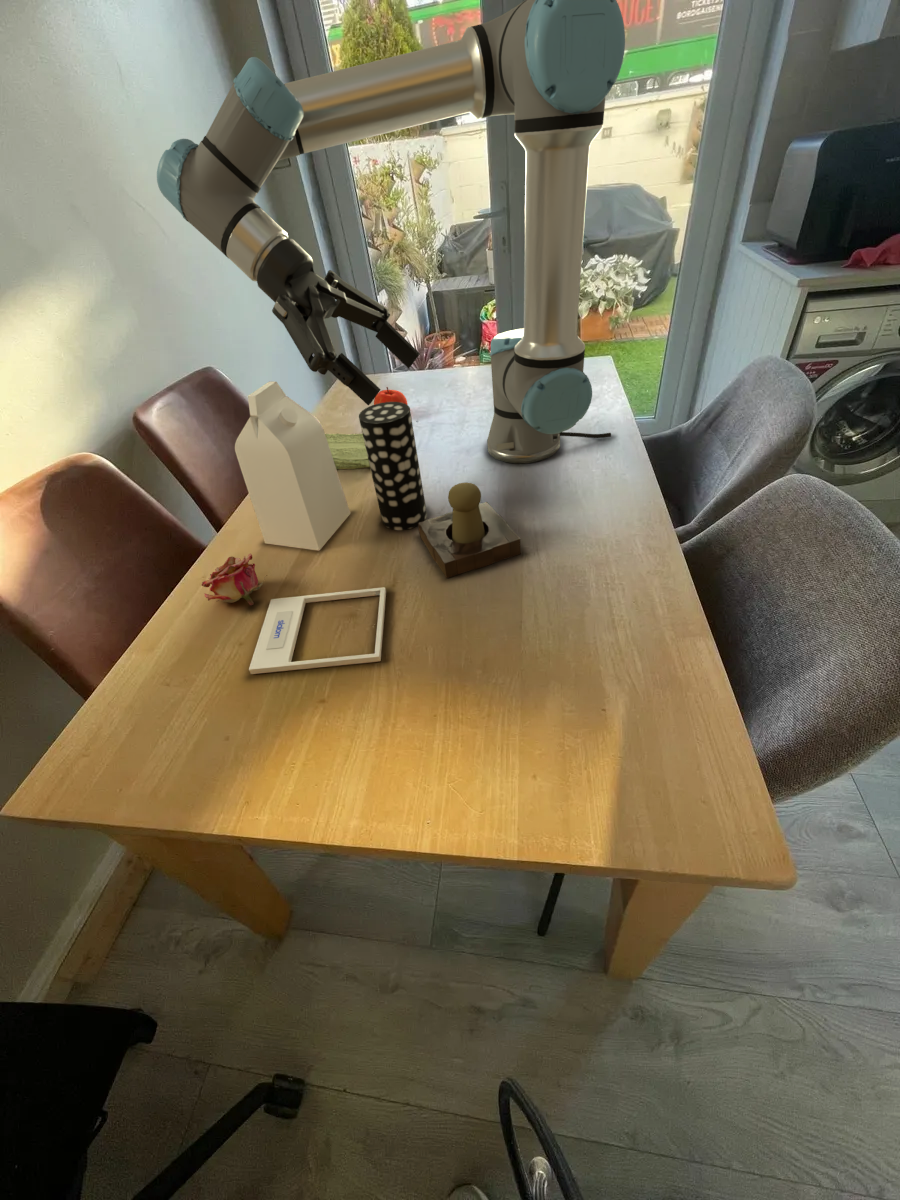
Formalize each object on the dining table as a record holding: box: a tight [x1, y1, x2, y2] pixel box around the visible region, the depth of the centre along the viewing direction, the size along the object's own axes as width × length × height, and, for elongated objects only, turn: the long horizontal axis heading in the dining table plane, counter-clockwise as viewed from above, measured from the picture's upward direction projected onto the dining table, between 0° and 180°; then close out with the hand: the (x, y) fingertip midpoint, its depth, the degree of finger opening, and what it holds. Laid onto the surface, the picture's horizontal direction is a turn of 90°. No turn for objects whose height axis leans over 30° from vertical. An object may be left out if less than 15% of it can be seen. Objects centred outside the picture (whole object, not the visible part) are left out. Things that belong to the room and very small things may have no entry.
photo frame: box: [248, 586, 387, 675], centre depth 80 cm, size 15×1×18 cm
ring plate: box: [417, 501, 522, 579], centre depth 92 cm, size 13×13×3 cm
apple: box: [373, 386, 409, 406], centre depth 133 cm, size 8×8×8 cm
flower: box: [201, 553, 268, 607], centre depth 86 cm, size 10×9×8 cm
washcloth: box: [325, 432, 370, 470], centre depth 122 cm, size 13×18×3 cm
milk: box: [234, 380, 351, 552], centre depth 94 cm, size 12×12×26 cm
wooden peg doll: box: [447, 482, 486, 543], centre depth 89 cm, size 6×6×11 cm
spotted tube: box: [358, 402, 428, 531], centre depth 95 cm, size 8×8×20 cm
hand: (395, 378), depth 77 cm, fingers open, 13 cm apart
